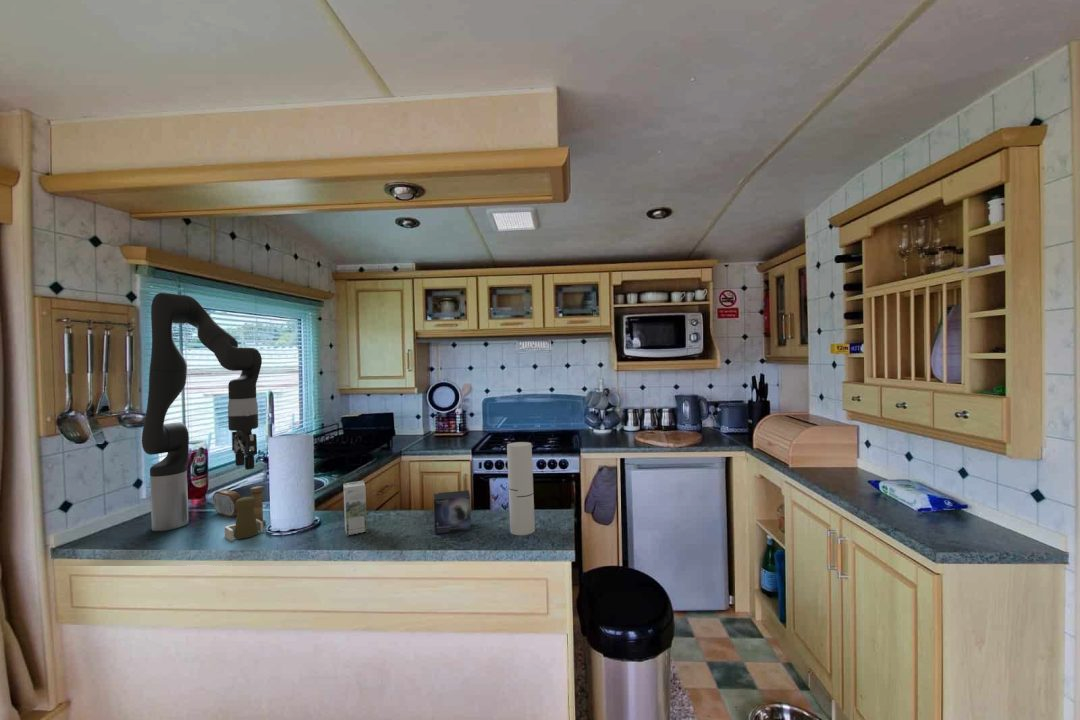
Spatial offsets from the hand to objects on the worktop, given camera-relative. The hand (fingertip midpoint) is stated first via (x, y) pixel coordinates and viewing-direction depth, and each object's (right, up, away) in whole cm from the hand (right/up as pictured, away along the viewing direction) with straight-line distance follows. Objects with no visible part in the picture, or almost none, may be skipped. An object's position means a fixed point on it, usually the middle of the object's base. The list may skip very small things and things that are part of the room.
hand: (244, 467), depth 136 cm
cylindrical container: (+84, -17, -5) cm, 86 cm away
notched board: (0, -20, 0) cm, 20 cm away
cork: (+1, -20, -1) cm, 20 cm away
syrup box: (+34, -19, -1) cm, 39 cm away
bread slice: (-19, -22, +20) cm, 35 cm away
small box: (+63, -18, -2) cm, 66 cm away
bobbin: (-1, -21, +8) cm, 22 cm away
